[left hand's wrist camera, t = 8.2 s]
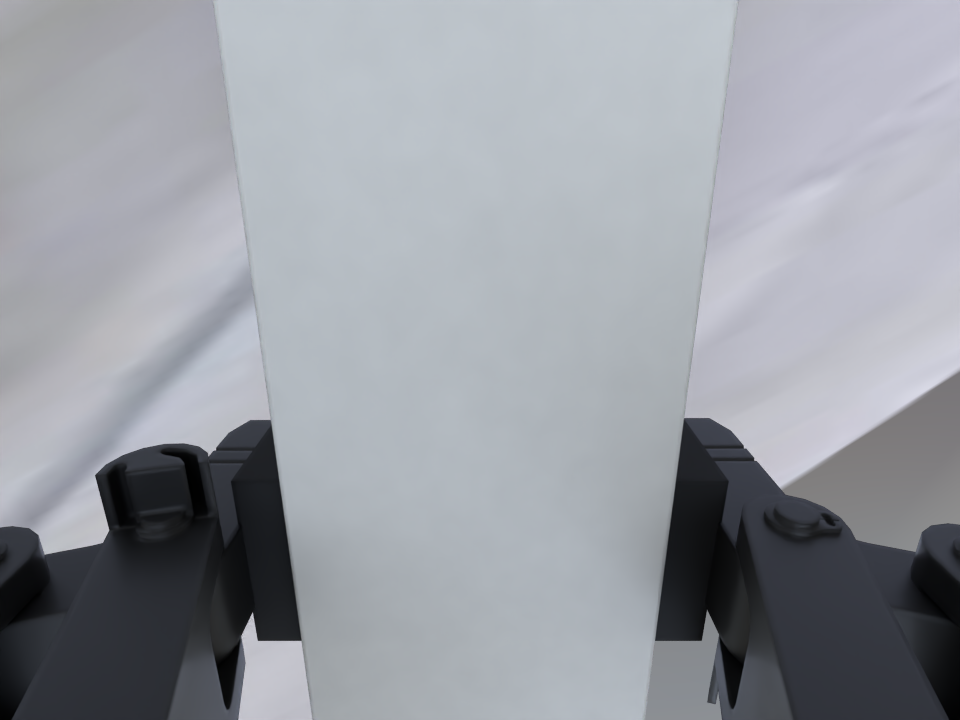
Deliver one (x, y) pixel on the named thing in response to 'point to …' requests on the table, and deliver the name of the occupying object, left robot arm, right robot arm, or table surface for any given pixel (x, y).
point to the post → (477, 332)
